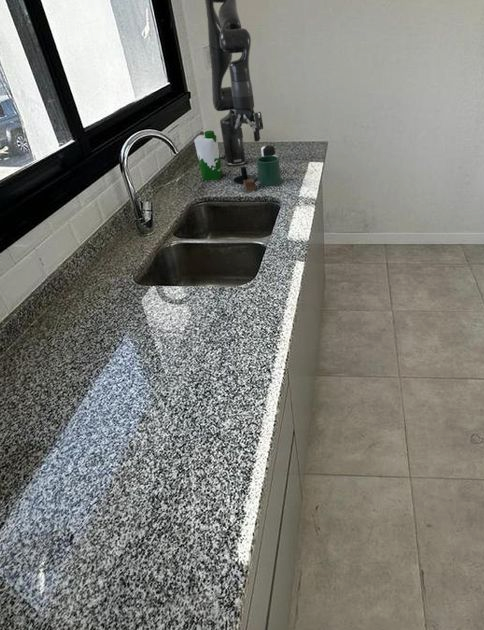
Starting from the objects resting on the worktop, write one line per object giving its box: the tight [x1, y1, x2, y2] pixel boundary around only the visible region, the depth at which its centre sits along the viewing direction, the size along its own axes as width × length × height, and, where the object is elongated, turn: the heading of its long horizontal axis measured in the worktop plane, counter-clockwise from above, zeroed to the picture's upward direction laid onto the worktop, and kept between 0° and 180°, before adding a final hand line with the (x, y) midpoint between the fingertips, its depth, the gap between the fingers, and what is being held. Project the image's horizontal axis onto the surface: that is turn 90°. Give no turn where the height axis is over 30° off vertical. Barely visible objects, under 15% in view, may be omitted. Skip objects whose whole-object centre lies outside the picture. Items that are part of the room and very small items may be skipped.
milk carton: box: [193, 130, 224, 181], centre depth 191 cm, size 9×9×20 cm
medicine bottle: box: [260, 145, 279, 158], centre depth 196 cm, size 7×7×12 cm
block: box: [242, 179, 257, 192], centre depth 183 cm, size 4×4×4 cm
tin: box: [256, 155, 282, 187], centre depth 186 cm, size 9×9×10 cm
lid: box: [233, 166, 258, 185], centre depth 190 cm, size 10×10×6 cm
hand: (248, 139), depth 169 cm, fingers open, 8 cm apart
